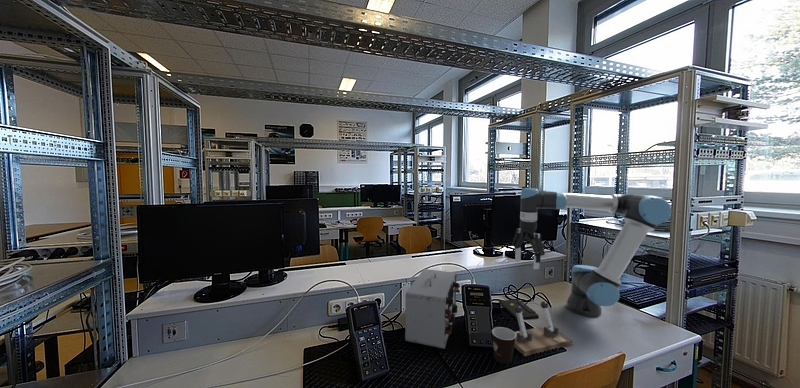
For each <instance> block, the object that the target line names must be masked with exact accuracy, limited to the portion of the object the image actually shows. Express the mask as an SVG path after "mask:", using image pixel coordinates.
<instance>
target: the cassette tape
mask: <svg viewBox="0 0 800 388" xmlns="http://www.w3.org/2000/svg"><path fill="white" fill-rule="evenodd" d="M499 303H500V304H501V305H500V304H499ZM498 304H499V305H500V306H501V307H503V309H504V310H506V311H507V313H508V314H510V315H511V316H512V317H513V318H514V319H515V320H517V321H518V319H517V315H516V312H515V311H514V308H515V307H516V306H520V307H521V309H522V316H523V320H524V321H525V320H533V319H534V320H536V319H539V317H540V315H539V314H538V313H536V311H535V310H534V309H532V308H531V307H529V306H528V305H527V304H526V303H524V302H523V301H522V300H520V299H519V298H517V299H504V300H498Z"/></svg>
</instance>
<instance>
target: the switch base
mask: <svg viewBox="0 0 800 388" xmlns="http://www.w3.org/2000/svg"><path fill="white" fill-rule="evenodd" d="M553 328H554V329H555V332H552V333H551V330H550V329H549V328H548V327H547V325H544V326H539V327H533V328H529V329H526V332H527V334H528V338H525V339H523V335H522V334H521V332H520V330H517V331H513V332H514V333H515V334H516V339H515V345H514V349H515V348H516V350H517V351H518V352H519V353H520V354H521V353H522V354H523V355H522V354H521V355H522V356H524V357H529V356H532V354H533V355H535V354H536V353H537V354H540V352H541V353H544V351H545V352H549V351H552V349H553V350H556V349H555V348H557V349H561V348H564V347H569V346H572V345H573V340H572V339H571V338H569V337H568V336H567V335H565V334H563V333H561V331H559V329H560V328H559V327H558V326H556V325H554V324H553ZM560 347H561V348H560ZM548 350H549V351H548Z"/></svg>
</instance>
